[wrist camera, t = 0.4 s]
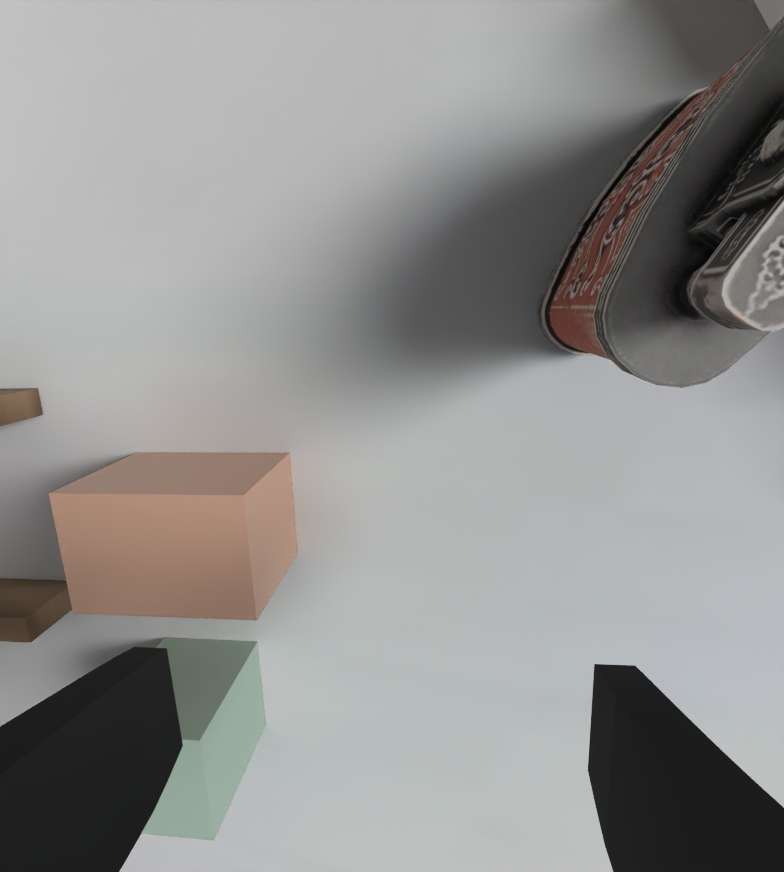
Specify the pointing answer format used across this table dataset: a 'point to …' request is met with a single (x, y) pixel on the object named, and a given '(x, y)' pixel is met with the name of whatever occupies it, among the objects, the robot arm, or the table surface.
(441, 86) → the table surface
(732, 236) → the red printed tin
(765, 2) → the organizer
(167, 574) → the terracotta block
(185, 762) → the sage block
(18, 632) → the rack
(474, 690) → the table surface
